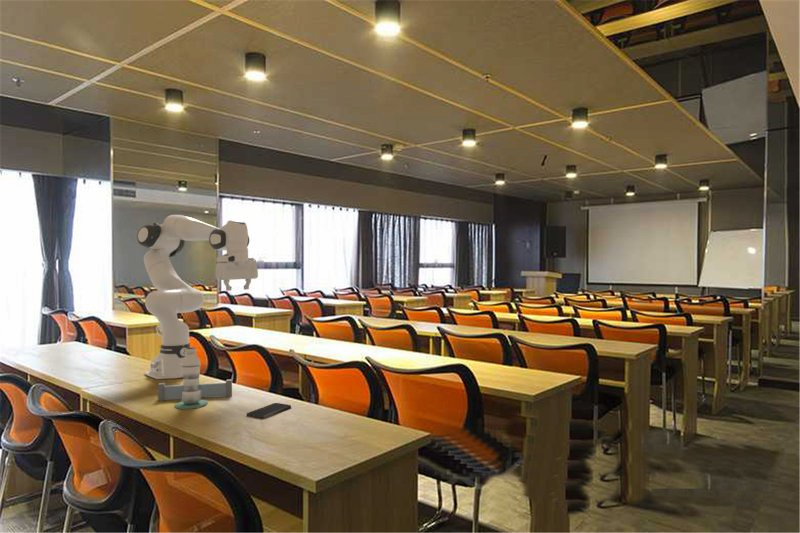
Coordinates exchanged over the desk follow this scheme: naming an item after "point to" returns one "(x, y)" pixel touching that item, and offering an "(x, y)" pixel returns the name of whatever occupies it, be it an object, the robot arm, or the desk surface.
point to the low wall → (206, 389)
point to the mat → (191, 405)
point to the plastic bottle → (191, 377)
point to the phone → (268, 410)
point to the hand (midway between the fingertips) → (237, 290)
